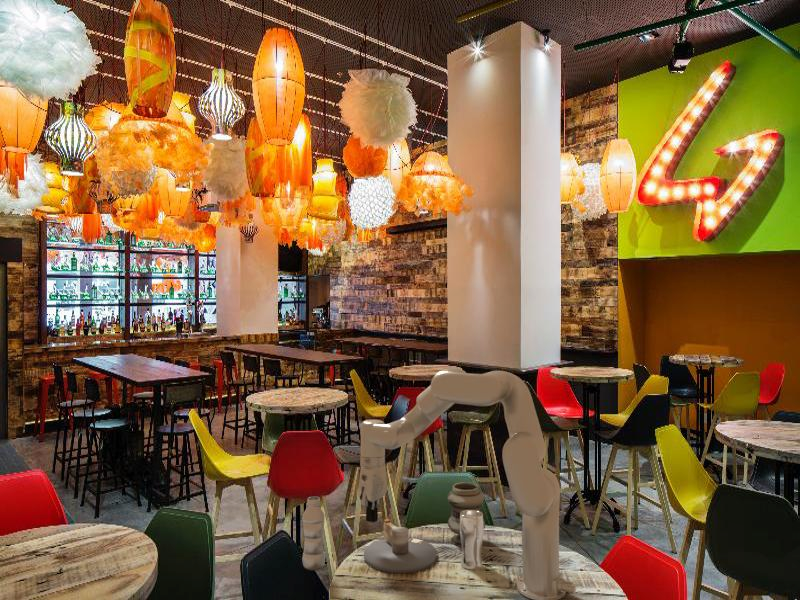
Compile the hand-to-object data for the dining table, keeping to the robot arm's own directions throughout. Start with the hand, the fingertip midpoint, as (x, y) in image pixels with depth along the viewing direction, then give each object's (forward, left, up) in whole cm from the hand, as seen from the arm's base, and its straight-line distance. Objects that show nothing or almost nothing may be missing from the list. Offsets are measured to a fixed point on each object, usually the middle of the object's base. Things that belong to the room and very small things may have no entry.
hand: (371, 520), depth 173 cm
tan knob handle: (-5, -5, -8) cm, 11 cm away
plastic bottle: (+9, +17, -10) cm, 22 cm away
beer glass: (-29, -9, -10) cm, 32 cm away
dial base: (-8, -3, -10) cm, 13 cm away
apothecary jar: (-20, -24, -10) cm, 33 cm away
